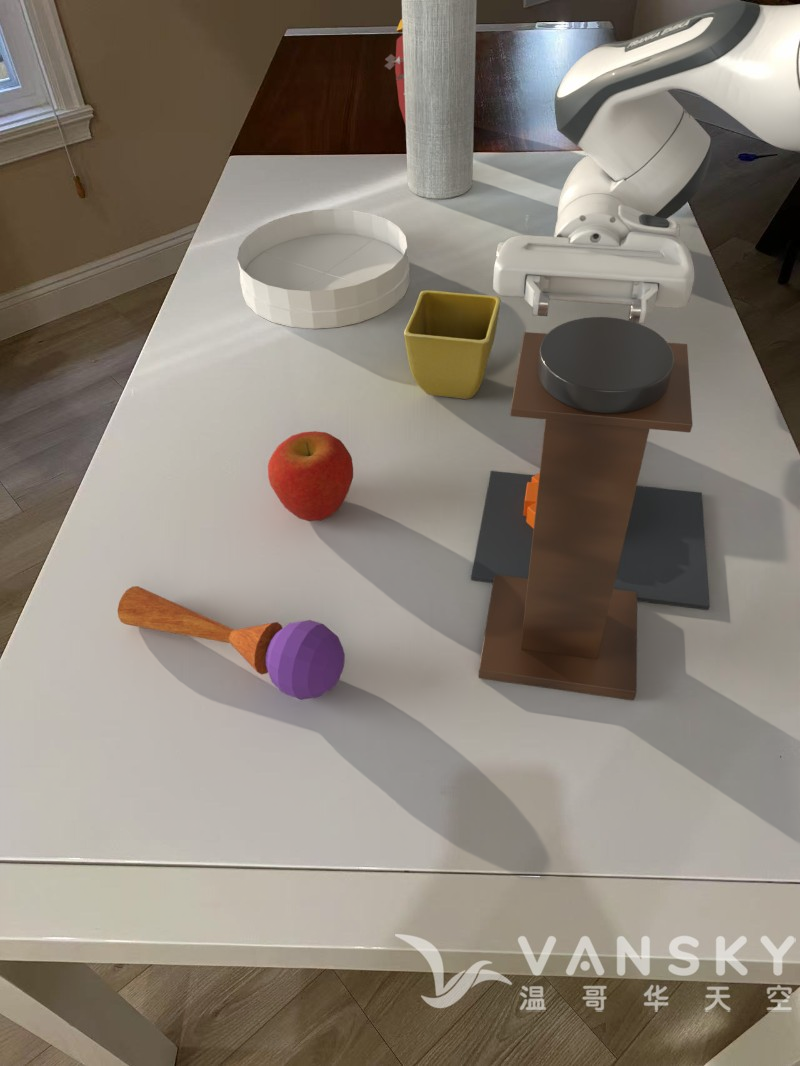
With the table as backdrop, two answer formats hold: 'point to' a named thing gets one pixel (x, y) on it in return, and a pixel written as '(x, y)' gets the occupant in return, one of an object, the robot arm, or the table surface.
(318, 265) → the dish
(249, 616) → the table surface
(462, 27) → the vase
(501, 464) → the table surface
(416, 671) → the table surface
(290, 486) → the apple
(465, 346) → the flower pot
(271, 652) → the kendama
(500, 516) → the mat
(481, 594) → the table surface
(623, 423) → the stand
